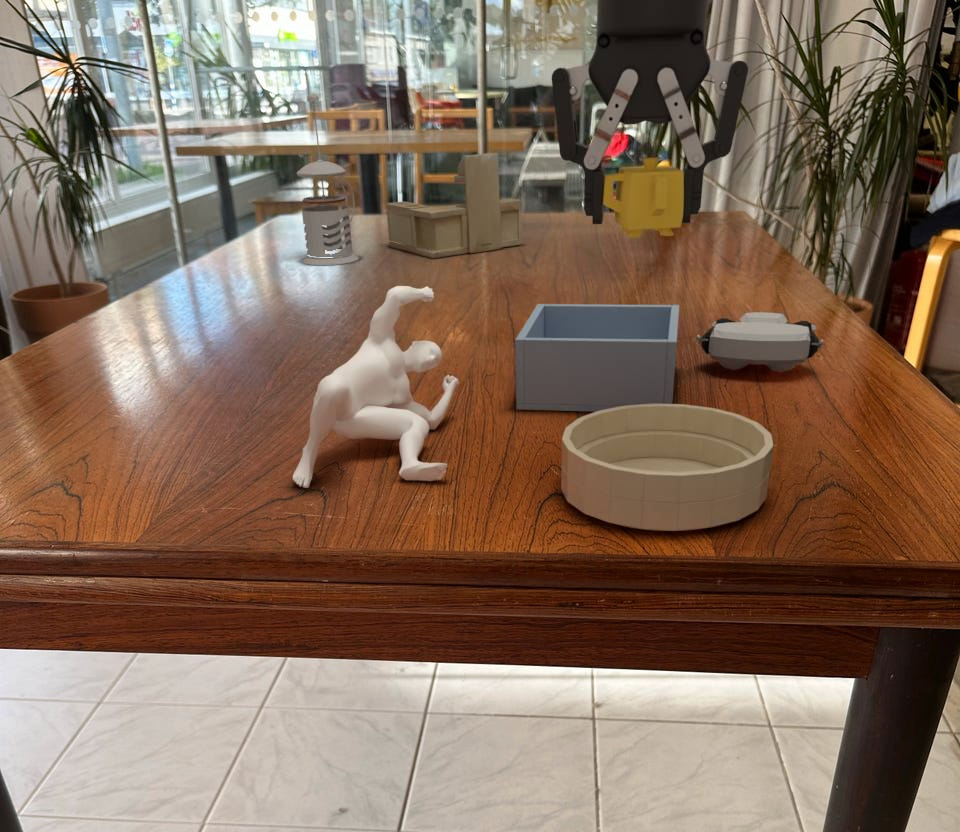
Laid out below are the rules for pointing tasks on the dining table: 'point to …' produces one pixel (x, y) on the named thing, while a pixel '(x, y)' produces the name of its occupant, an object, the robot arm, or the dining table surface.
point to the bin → (596, 356)
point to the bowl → (666, 466)
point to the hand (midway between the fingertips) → (640, 221)
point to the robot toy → (760, 341)
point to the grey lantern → (326, 215)
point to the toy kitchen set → (460, 216)
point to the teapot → (646, 198)
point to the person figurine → (380, 394)
